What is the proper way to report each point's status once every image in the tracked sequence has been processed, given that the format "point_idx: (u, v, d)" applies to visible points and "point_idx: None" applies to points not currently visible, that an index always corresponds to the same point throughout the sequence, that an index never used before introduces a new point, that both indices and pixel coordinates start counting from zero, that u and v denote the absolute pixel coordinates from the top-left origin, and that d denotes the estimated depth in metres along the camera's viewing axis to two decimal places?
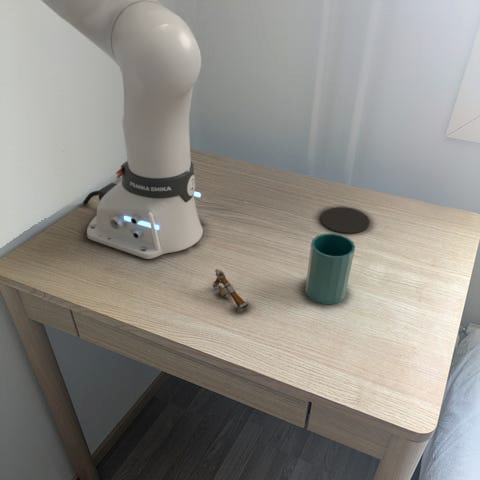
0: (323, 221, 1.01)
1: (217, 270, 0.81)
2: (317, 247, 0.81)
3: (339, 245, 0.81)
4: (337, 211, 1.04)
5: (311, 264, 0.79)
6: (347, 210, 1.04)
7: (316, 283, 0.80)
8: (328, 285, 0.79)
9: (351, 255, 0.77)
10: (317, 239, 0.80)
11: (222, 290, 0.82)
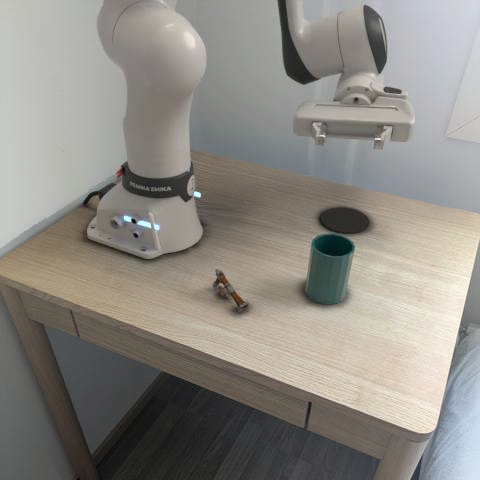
0: (323, 221, 1.01)
1: (217, 270, 0.81)
2: (317, 247, 0.81)
3: (339, 245, 0.81)
4: (337, 211, 1.04)
5: (311, 264, 0.79)
6: (347, 210, 1.04)
7: (316, 283, 0.80)
8: (328, 285, 0.79)
9: (351, 255, 0.77)
10: (317, 239, 0.80)
11: (222, 290, 0.82)
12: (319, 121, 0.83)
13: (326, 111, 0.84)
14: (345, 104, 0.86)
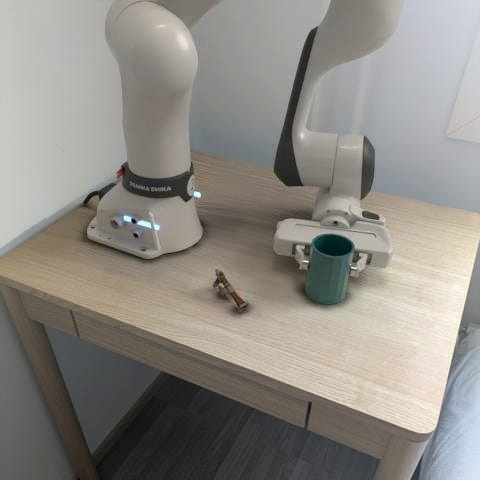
0: None
1: (217, 270, 0.81)
2: (317, 247, 0.81)
3: (339, 245, 0.81)
4: None
5: (311, 264, 0.79)
6: None
7: (316, 283, 0.80)
8: (328, 285, 0.79)
9: (351, 255, 0.77)
10: (317, 239, 0.80)
11: (222, 290, 0.82)
12: (303, 244, 0.83)
13: (306, 233, 0.85)
14: (325, 226, 0.87)
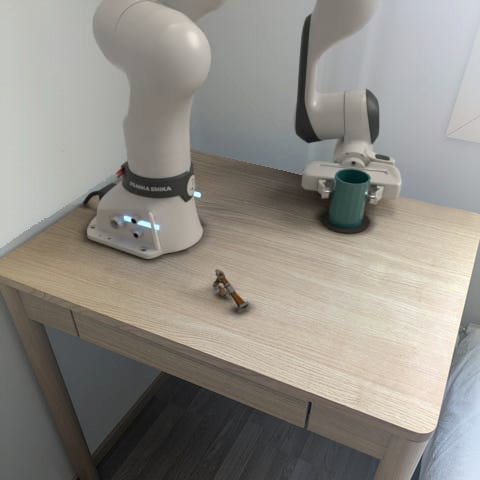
0: (323, 221, 1.01)
1: (217, 270, 0.81)
2: None
3: (357, 178, 0.98)
4: None
5: (335, 193, 0.96)
6: None
7: (338, 209, 0.97)
8: (348, 210, 0.96)
9: (368, 184, 0.94)
10: (339, 173, 0.97)
11: (222, 290, 0.82)
12: (324, 179, 1.01)
13: (329, 171, 1.02)
14: (344, 166, 1.04)
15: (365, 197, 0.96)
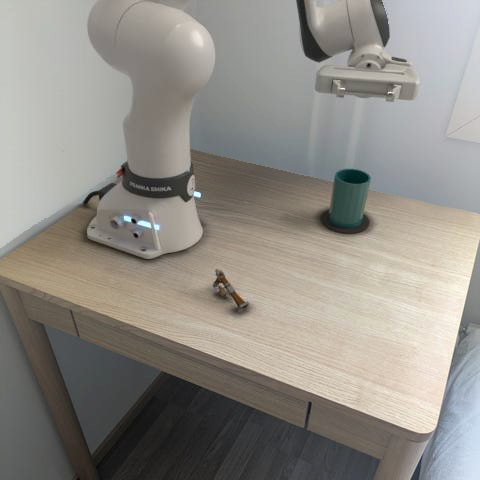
0: (323, 221, 1.01)
1: (217, 270, 0.81)
2: None
3: (357, 178, 0.98)
4: None
5: (335, 193, 0.96)
6: None
7: (338, 209, 0.97)
8: (348, 210, 0.96)
9: (368, 184, 0.94)
10: (339, 173, 0.97)
11: (222, 290, 0.82)
12: (339, 79, 0.97)
13: (344, 72, 0.98)
14: (359, 68, 1.00)
15: (365, 197, 0.96)
